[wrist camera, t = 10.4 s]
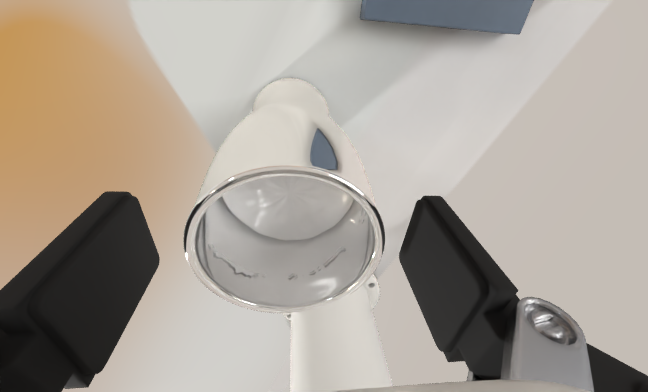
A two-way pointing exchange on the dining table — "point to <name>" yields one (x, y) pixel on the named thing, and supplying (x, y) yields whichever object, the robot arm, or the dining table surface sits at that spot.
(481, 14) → the scale
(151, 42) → the dining table surface
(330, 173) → the beer glass
